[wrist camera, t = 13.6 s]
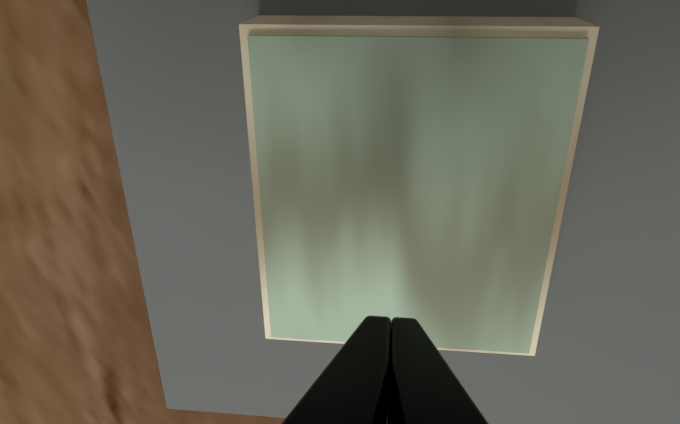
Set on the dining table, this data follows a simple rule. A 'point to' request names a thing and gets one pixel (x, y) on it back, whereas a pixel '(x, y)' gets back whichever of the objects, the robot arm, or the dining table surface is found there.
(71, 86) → the dining table surface
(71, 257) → the dining table surface
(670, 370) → the mat
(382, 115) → the tile
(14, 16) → the dining table surface
